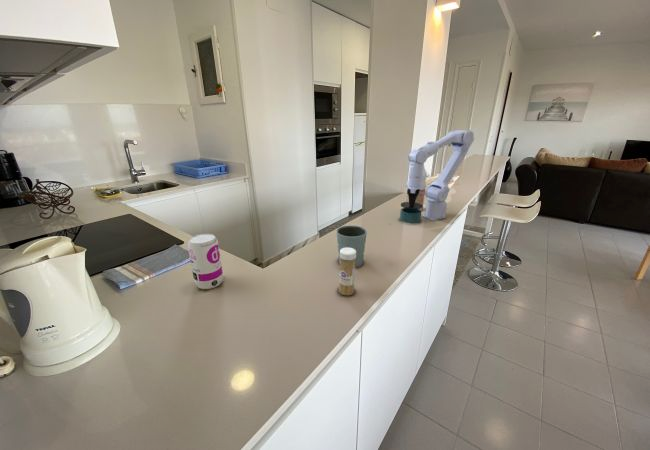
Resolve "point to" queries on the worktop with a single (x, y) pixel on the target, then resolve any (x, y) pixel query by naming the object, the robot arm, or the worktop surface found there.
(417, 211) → the pot
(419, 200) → the fruit juice
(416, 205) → the lid
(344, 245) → the grey green cup
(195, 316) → the worktop surface
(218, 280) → the supplement can
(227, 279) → the worktop surface
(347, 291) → the sprinkles bottle
